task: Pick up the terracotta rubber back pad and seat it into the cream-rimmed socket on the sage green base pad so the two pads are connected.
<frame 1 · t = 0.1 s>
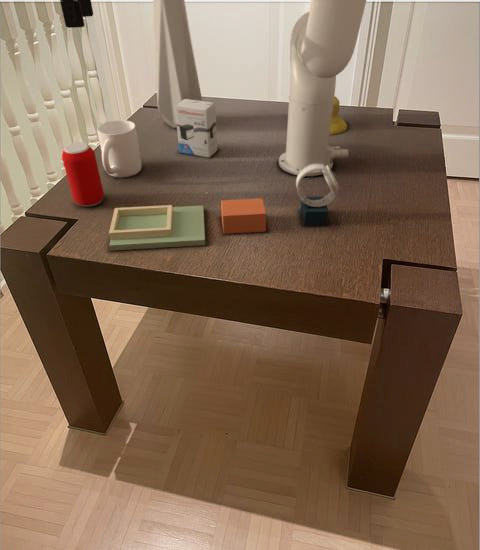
hand: (80, 21, 85), 31 cm above the table, tool pointing down, fingers open, 9 cm apart
vase: (182, 124, 128), on the table
back pad: (243, 224, 88), on the table
mug: (120, 174, 105), on the table
handbell: (324, 126, 126), on the table
ink box: (198, 152, 114), on the table
base pad: (159, 229, 87), on the table
beverage can: (90, 202, 95), on the table
watch: (313, 218, 90), on the table
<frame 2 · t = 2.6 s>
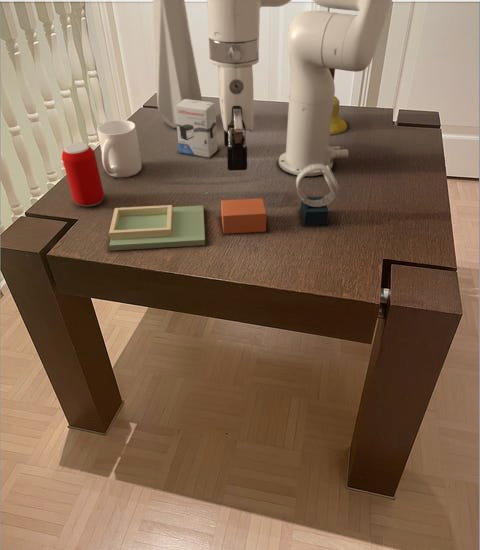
hand: (235, 157, 80), 14 cm above the table, tool pointing down, fingers open, 9 cm apart
nothing on the table moved.
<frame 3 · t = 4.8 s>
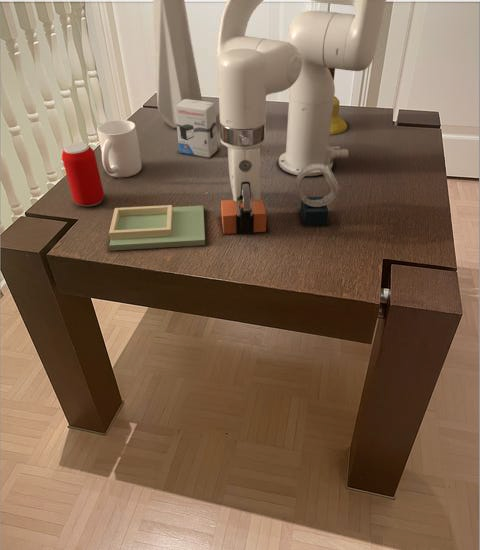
hand: (243, 222, 87), 1 cm above the table, tool pointing down, fingers closed on back pad, 5 cm apart
back pad: (243, 224, 88), on the table, touching gripper
everything else where it was.
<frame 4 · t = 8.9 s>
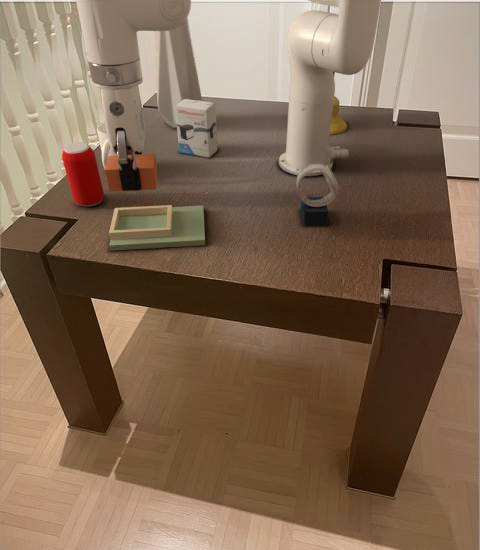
hand: (133, 180, 80), 11 cm above the table, tool pointing down, fingers closed on back pad, 5 cm apart
back pad: (134, 182, 80), point 10 cm above the table, touching gripper
everything else where it was.
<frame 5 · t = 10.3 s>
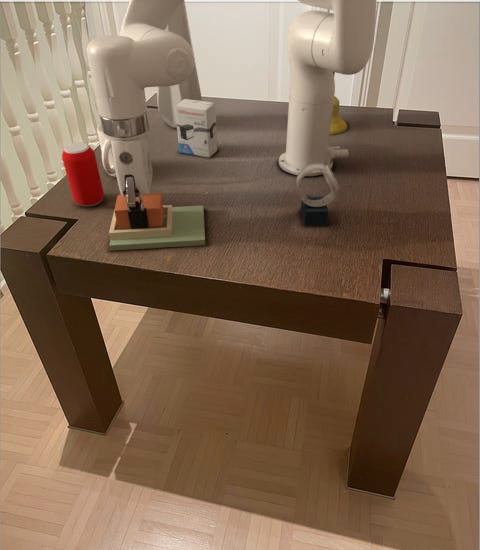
hand: (141, 217, 85), 3 cm above the table, tool pointing down, fingers closed on back pad, 5 cm apart
back pad: (141, 220, 85), point 2 cm above the table, touching gripper
everything else where it was.
when the fingers open (3 cm above the table, at t = 12.9 s): back pad drops 1 cm, resting on base pad.
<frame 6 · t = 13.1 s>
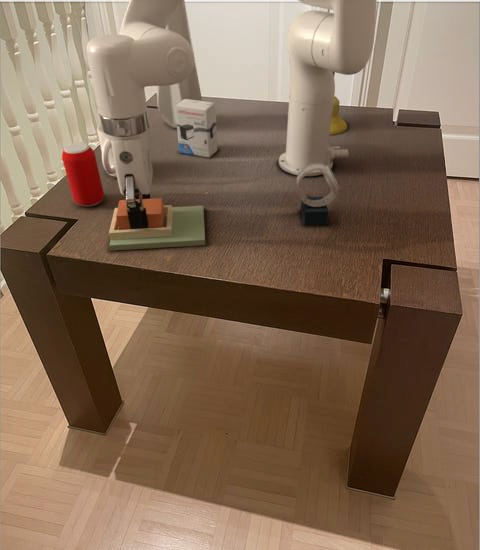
hand: (141, 215, 85), 3 cm above the table, tool pointing down, fingers open, 7 cm apart
back pad: (143, 225, 86), point 1 cm above the table, touching base pad
everything else where it was.
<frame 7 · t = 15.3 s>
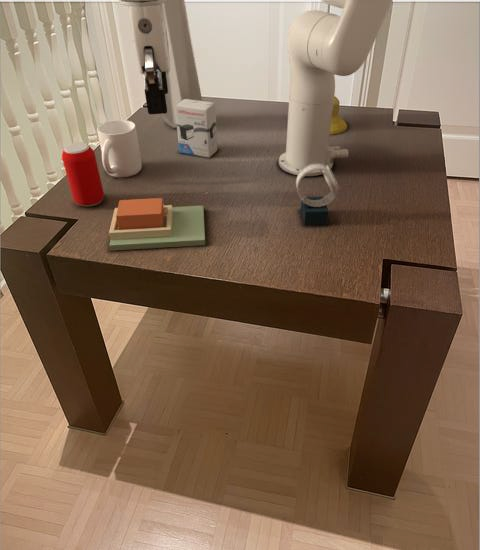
hand: (158, 103, 81), 21 cm above the table, tool pointing down, fingers open, 9 cm apart
nothing on the table moved.
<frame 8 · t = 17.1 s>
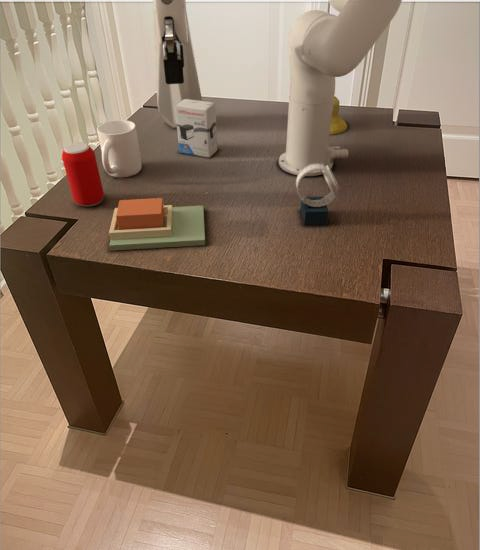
hand: (175, 75, 85), 23 cm above the table, tool pointing down, fingers open, 9 cm apart
nothing on the table moved.
at the end: back pad 0.0 cm from the target spot on the base pad, point 1.2 cm above the base pad's base; back pad tilted 0°; the gripper is holding nothing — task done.
